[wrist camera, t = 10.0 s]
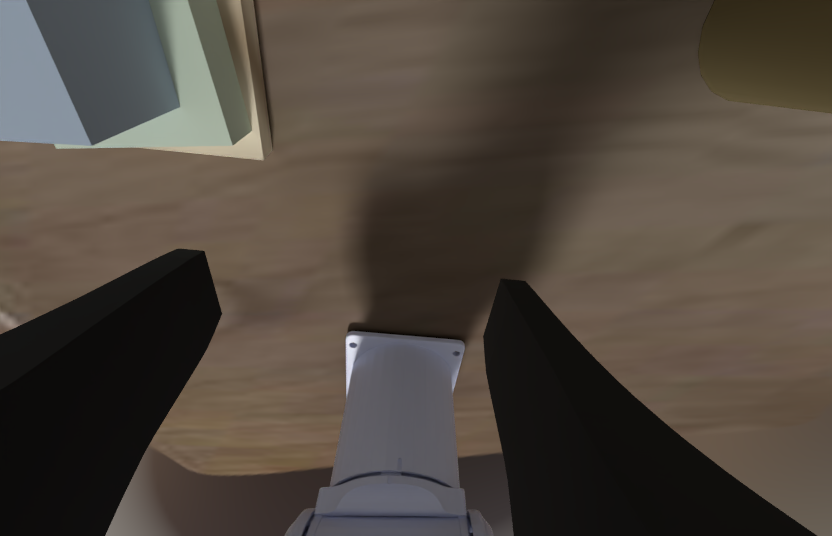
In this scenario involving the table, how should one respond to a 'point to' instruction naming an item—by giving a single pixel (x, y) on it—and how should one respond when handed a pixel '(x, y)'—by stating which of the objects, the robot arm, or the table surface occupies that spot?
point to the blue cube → (80, 70)
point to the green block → (192, 83)
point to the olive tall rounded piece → (769, 52)
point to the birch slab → (242, 83)
